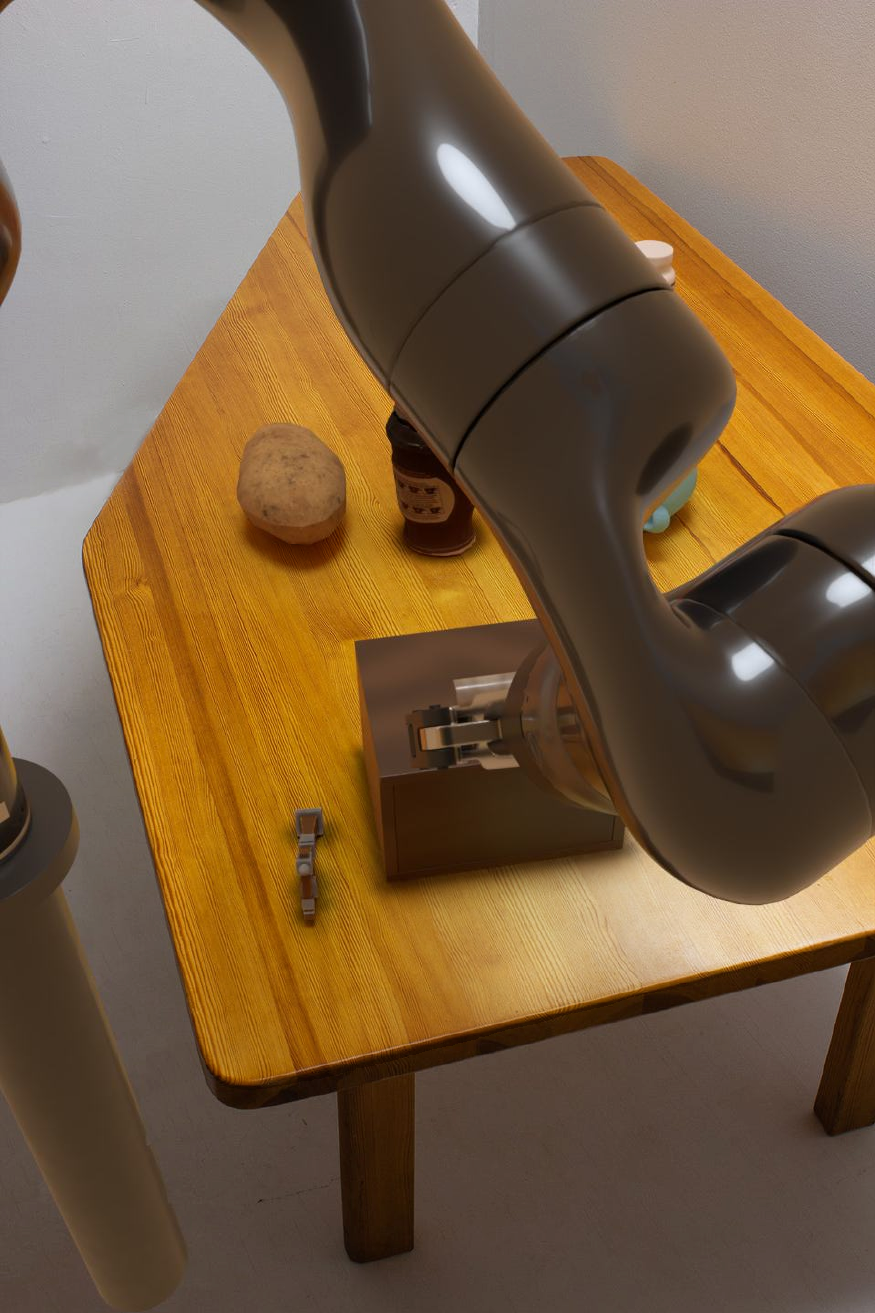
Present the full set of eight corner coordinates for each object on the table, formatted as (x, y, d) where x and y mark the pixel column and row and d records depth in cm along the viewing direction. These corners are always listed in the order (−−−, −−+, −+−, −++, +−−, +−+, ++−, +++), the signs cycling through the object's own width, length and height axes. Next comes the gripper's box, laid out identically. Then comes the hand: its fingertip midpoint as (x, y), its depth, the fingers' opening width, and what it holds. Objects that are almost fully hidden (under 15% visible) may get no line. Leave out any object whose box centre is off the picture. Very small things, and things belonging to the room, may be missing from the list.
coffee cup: (446, 579, 101) (444, 443, 93) (370, 545, 105) (361, 412, 97) (506, 530, 107) (509, 398, 98) (431, 500, 111) (428, 370, 102)
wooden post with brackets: (293, 928, 74) (287, 860, 72) (299, 868, 81) (294, 806, 80) (323, 926, 74) (318, 858, 72) (326, 867, 81) (321, 804, 80)
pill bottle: (613, 324, 137) (620, 238, 131) (663, 322, 137) (673, 236, 131) (621, 348, 133) (629, 259, 126) (673, 346, 133) (683, 257, 126)
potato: (255, 584, 102) (243, 503, 96) (231, 495, 112) (220, 418, 107) (369, 563, 103) (363, 484, 98) (335, 478, 114) (328, 402, 108)
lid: (640, 750, 72) (648, 685, 69) (380, 787, 70) (376, 722, 67) (585, 620, 81) (590, 558, 78) (354, 649, 80) (349, 586, 76)
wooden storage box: (622, 848, 79) (636, 740, 73) (386, 883, 77) (378, 776, 71) (577, 726, 88) (585, 621, 81) (363, 755, 86) (354, 650, 80)
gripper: (793, 589, 46) (666, 633, 62) (420, 635, 44) (389, 667, 60) (823, 788, 45) (687, 779, 61) (447, 841, 44) (409, 818, 60)
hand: (540, 724), depth 61 cm, fingers open, 8 cm apart
